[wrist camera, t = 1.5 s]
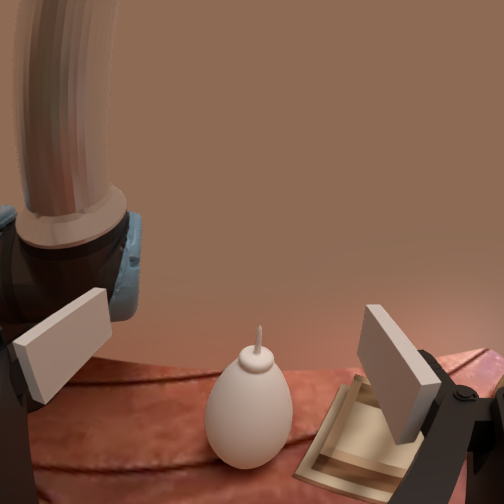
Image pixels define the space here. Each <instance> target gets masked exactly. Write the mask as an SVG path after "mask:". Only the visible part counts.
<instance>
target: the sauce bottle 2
mask: <svg viewBox="0 0 504 504" xmlns="http://www.w3.org/2000/svg"><path fill="white" fill-rule="evenodd" d="M261 342H262V327H261V326H259V328H258V331H257V335H256V341H255V345H252V346H248V347H246V348H244V349H243V350H242V351H241V352H240V354H239V357H238V358H237V359H236V360H235V361H233V362H232V363H231V364H230V365H229V366H228V367H227V368H226V369H225V370H224V372H223V373H222V374H221V375H220V377H219V378H218V380H217V381H216V383H215V385H214V387H213V389H212V391H211V393H210V396H209V398H208V401H207V404H206V409H205V431H206V435H207V439H208V441H209V443H210V445H211V447H212V449H213V451H214V452H215V453H216V454H217V456H218V457H219V458H220V459H222V460H223V461H224V462H225V463H227V464H229V465H230V466H233V467H235V468H239V469H251V468H256V467H259V466H261V465H263V464H265V463H267V462H268V461H270V460H271V459H272V458H273V457H275V456H276V455H277V454H278V453H279V451H280V450H281V449H282V447H283V446H284V444H285V442H286V440H287V438H288V436H289V433H290V430H291V424H292V416H293V408H292V401H291V396H290V391H289V388H288V385H287V382H286V380H285V378H284V376H283V374H282V372H281V370H280V369H279V368H278V366H277V365H276V364H275V363H274V356H273V354H272V353H271V352H270V350H268V349H267V348H265V347H263V346H261Z"/></svg>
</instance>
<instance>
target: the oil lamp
mask: <svg viewBox="0 0 504 504" xmlns="http://www.w3.org/2000/svg"><path fill="white" fill-rule="evenodd" d="M503 386H504V375H503V376H502V377H501V379H500V381H499V382H498V385H497V387H496V390H495V392H494V394H493V397H492V398H494V396H495V393H496V391H497V390H498V389H499V388H500V387H503Z"/></svg>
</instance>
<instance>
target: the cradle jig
mask: <svg viewBox="0 0 504 504" xmlns="http://www.w3.org/2000/svg"><path fill="white" fill-rule="evenodd" d="M423 440H424V436H423V434H422V432H421V431H420V433H419V435H418V437H417V439H416V440H415V442H413V443H408V444H402V445H396V444H395V442H394V439H393V437H392V434H391V432H390V429H389V427H388V424H387V422H386V420H385V417H384V415H383V412H382V410H381V408H380V405H379V403H378V401H377V398H376V396H375V394H374V391H373V389H372V387H371V384H370V382H369V380H368V378H366V377H363V376H360V375H357V374H355V376H354V379H353V381H352V384H351V386H348V385H345V384H341V387H340V389H339V391H338V393H337V395H336V397H335V399H334V401H333V404H332V406H331V408H330V410H329V412H328V414H327V416H326V418H325V420H324V422H323V424H322V426H321V428H320V429H319V431H318V433H317V435H316V437H315V439H314V441H313V443H312V444H311V446H310V448H309V450H308V452H307V453H306V455H305V457H304V459H303V460H302V462H301V464H300V466H299V467H298V469H297V471H296V472H295V474H294V476H293V477H294V478H297V479H299V480H302V481H304V482H307V483H310V484H312V485H315V486H318V487H321V488H324V489H327V490H330V491H333V492H336V493H339V494H342V495H345V496H349V497H352V498H355V499H359V500H363V501H366V502H370V503H374V504H387V502H388V501H389V499H390V498H391V496H392V495H393V493H394V491H395V490H396V488H397V487H398V485H399V483H400V482H401V480H402V478H403V477H404V475H405V473H406V471H407V470H408V468H409V466H410V464H411V462H412V461H413V459H414V456H415V454H416V452H417V451H418V449H419V447H420V445H421V443H422V441H423Z"/></svg>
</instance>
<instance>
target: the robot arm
mask: <svg viewBox="0 0 504 504" xmlns="http://www.w3.org/2000/svg"><path fill="white" fill-rule="evenodd" d="M119 2H120V0H19V2H18V8H17V15H16V22H15V31H14V42H13V59H12V109H13V125H14V136H15V146H16V153H17V161H18V168H19V174H20V180H21V186H22V191H23V196H24V201H25V203H24V205H23V206H22V208H21V209H20V211H19V213H18V215H17V212H16V210H15V208H14V206H12V205H3V206H0V504H39V501H38V496H37V491H36V486H35V481H34V475H33V469H32V462H31V455H30V446H29V436H28V423H27V413H28V412H31V411H34V410H36V409H38V408H40V407H42V406H44V405H46V404H47V403H48V402H49V401H50V400H51V399H52V398H53V397H54V396H55V395H56V394H57V393H58V391H59V390H60V389H61V388H62V387H63V386H64V385H65V384H66V383H67V382H68V380H69V379H70V378H71V377H72V376H73V375H74V374H75V373H76V372H77V371H78V370H79V369H80V368H81V367H82V366H83V365H84V364H85V363H86V362H87V361H88V360H89V359H90V358H91V357H92V356H93V355H94V354H95V353H96V352H97V351H98V350H99V348H101V347H102V346H103V345H104V344H105V342H107V341H108V340H109V338H111V336H112V328H111V322H117V321H125V320H128V319H130V318H131V317H133V316H134V314H135V312H136V310H137V305H138V294H139V273H140V265H139V262H140V252H141V233H142V218H141V215H140V214H138V213H134V212H132V211H129V212H127V204H126V199H125V196H124V194H123V193H122V192H121V191H120V190H119V189H118V188H116V187H115V186H113V185H112V184H110V177H109V137H108V136H109V134H108V133H109V131H108V130H109V129H108V128H109V95H110V76H111V64H112V54H113V44H114V35H115V27H116V21H117V14H118V8H119ZM357 355H358V357H359V359H360V362H361V364H362V366H363V368H364V371H365V373H366V375H367V377H368V380H369V382H370V384H371V387H372V389H373V391H374V394H375V396H376V398H377V401H378V403H379V405H380V408H381V410H382V412H383V415H384V417H385V420H386V422H387V424H388V427H389V429H390V432H391V434H392V437H393V439H394V442H395V444H396V445H402V444H408V443H413V442H415V440H416V439H417V437H418V435H419V433H420V431H421V432H422V434H423V436H424V440H423V441H422V443H421V445H420V447H419V449H418V451H417V452H416V454H415V456H414V459H413V461H412V462H411V464H410V466H409V468H408V470H407V471H406V473H405V475H404V477H403V478H402V480H401V482H400V483H399V485H398V487H397V488H396V490H395V491H394V493H393V495H392V496H391V498H390V499H389V501H388V502H387V504H448V502H449V500H450V498H451V495H452V493H453V490H454V488H455V485H456V482H457V480H458V477H459V474H460V471H461V468H462V465H463V462H464V459H465V456H466V452H467V482H466V498H465V504H504V386H503V387H500V388H499V389H498V390H497V391H496V393H495V396H494V398H479V395H478V394H477V392H476V391H474V390H473V389H472V388H470V387H467V386H464V385H456V384H455V383H454V382H453V381H452V379H451V378H450V377H449V376H448V374H447V373H446V372H445V371H444V369H442V367H441V366H440V364H439V363H438V362H437V361H436V359H435V358H434V357H433V356H432V355H431V354H429V353H428V352H426V351H424V350H417V349H416V348H415V347H414V346H413V344H412V343H411V342H410V341H409V339H408V338H407V337H406V336H405V334H404V333H403V332H402V331H401V329H400V328H399V327H398V326H397V324H396V323H395V322H394V321H393V320H392V319H391V317H390V316H389V315H388V313H387V312H386V311H385V310H384V309H383V307H382V306H381V305H366V308H365V314H364V320H363V325H362V330H361V335H360V341H359V345H358V350H357Z"/></svg>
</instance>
